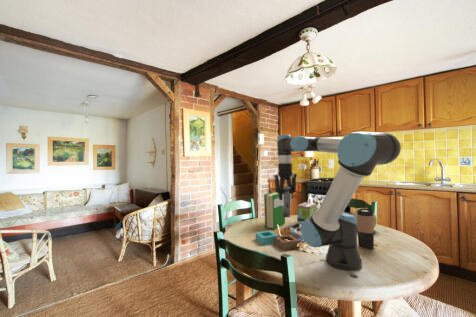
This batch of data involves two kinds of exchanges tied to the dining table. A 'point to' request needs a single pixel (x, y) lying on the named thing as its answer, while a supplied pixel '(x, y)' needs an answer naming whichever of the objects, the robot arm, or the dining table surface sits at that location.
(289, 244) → the walnut mount
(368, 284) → the dining table surface
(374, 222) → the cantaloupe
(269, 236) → the teal socket
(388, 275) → the dining table surface
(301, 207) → the tea box
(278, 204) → the hardback book
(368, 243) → the travel mug
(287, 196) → the lock pin
